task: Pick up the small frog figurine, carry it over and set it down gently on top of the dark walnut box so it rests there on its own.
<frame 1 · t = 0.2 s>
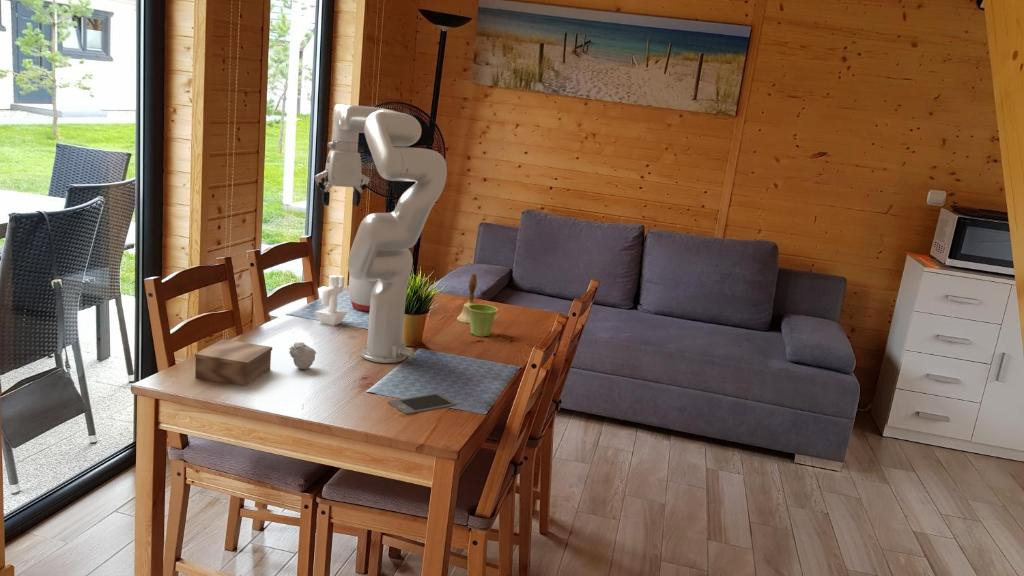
hand: (340, 205, 244), 37 cm above the table, tool pointing down, fingers open, 9 cm apart
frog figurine: (301, 369, 210), on the table
plant pot: (480, 334, 259), on the table
figurine: (331, 323, 253), on the table
smartphone: (422, 406, 196), on the table
walnut box: (233, 373, 201), on the table
hand bell: (468, 320, 274), on the table
citrus juicer: (369, 309, 274), on the table
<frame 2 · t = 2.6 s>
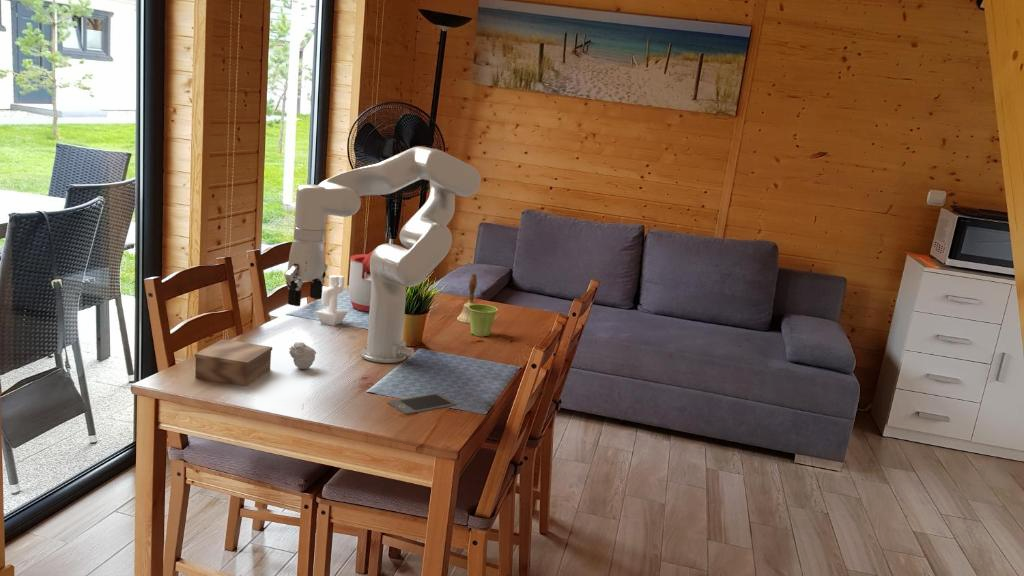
hand: (305, 301, 206), 18 cm above the table, tool pointing down, fingers open, 9 cm apart
nothing on the table moved.
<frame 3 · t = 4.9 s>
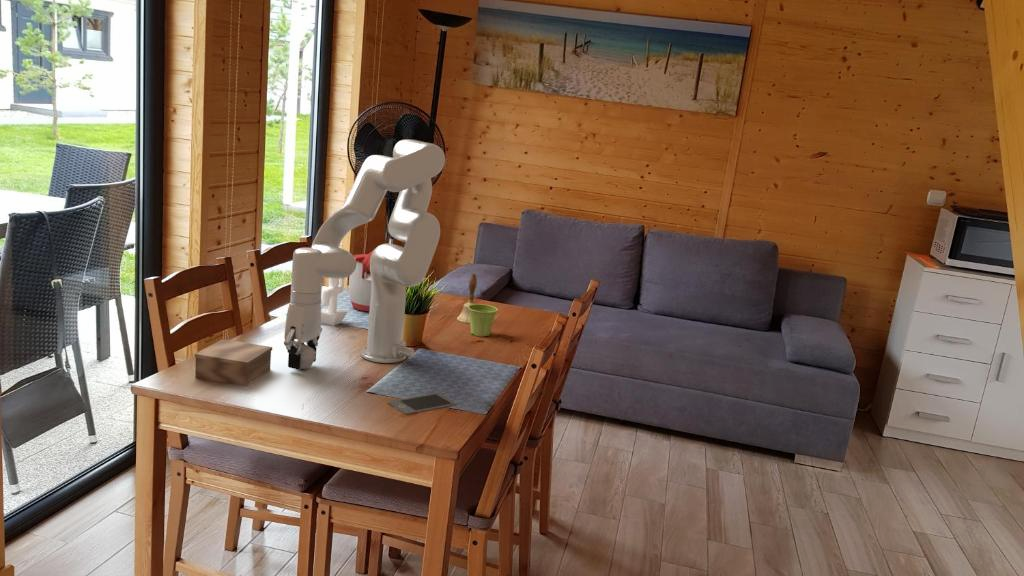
hand: (302, 363, 210), 1 cm above the table, tool pointing down, fingers closed on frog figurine, 6 cm apart
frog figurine: (301, 369, 210), on the table, touching gripper
everything else where it was.
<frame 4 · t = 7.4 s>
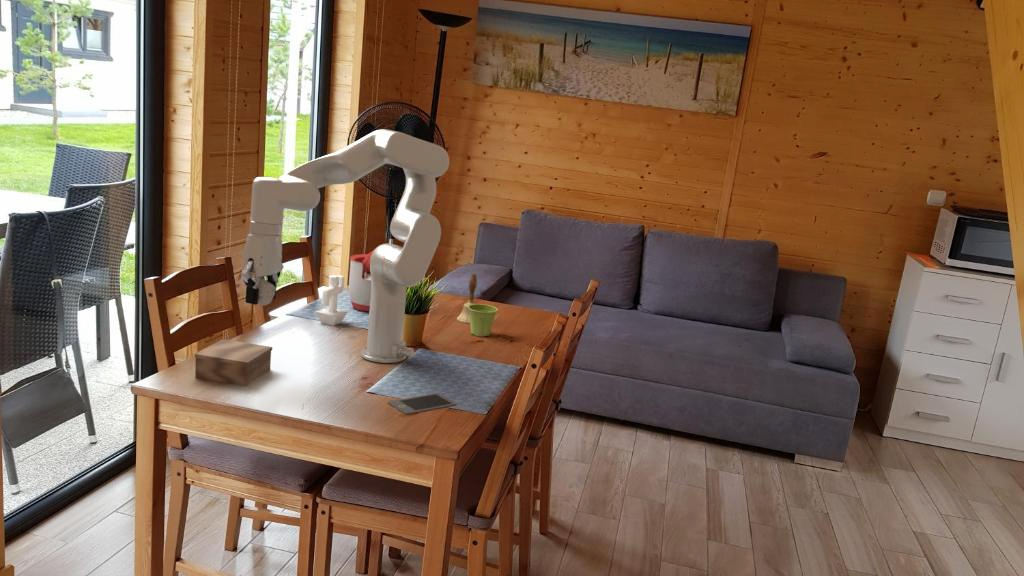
hand: (260, 300, 200), 19 cm above the table, tool pointing down, fingers closed on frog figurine, 6 cm apart
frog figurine: (260, 306, 200), point 17 cm above the table, touching gripper
everything else where it was.
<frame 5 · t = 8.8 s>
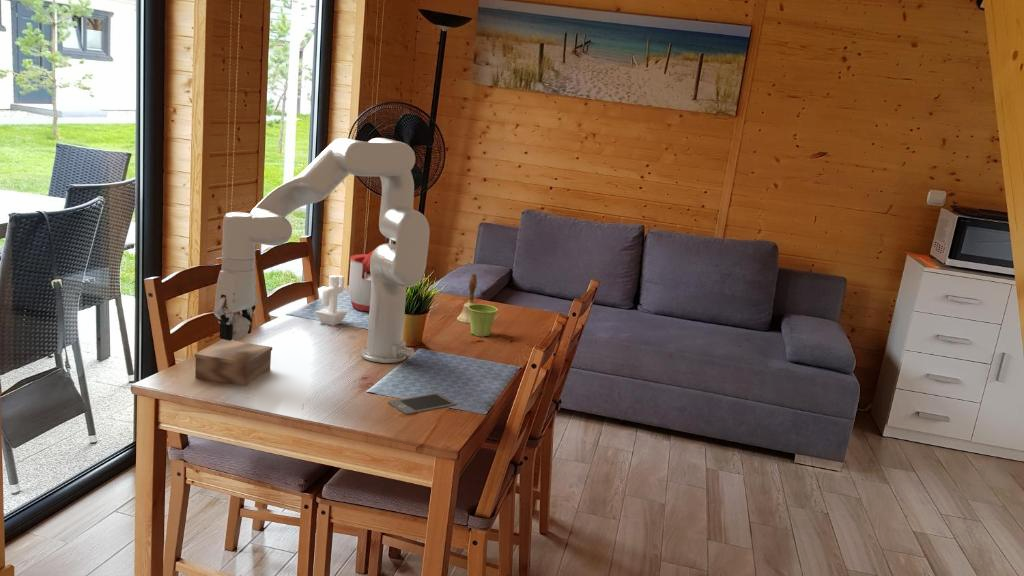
hand: (235, 335, 199), 10 cm above the table, tool pointing down, fingers closed on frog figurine, 6 cm apart
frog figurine: (235, 340, 199), point 8 cm above the table, touching gripper
everything else where it was.
when the fingers open (8 cm above the table, at t = 10.0 s): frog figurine stays where it is, resting on walnut box.
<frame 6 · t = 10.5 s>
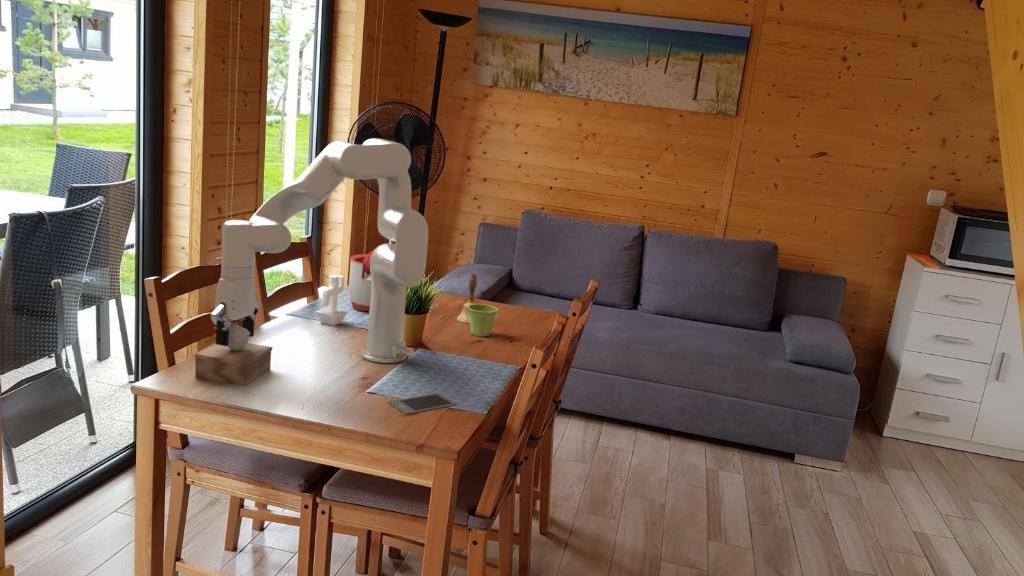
hand: (235, 340, 199), 9 cm above the table, tool pointing down, fingers open, 9 cm apart
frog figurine: (235, 351, 200), point 6 cm above the table, touching walnut box
everything else where it was.
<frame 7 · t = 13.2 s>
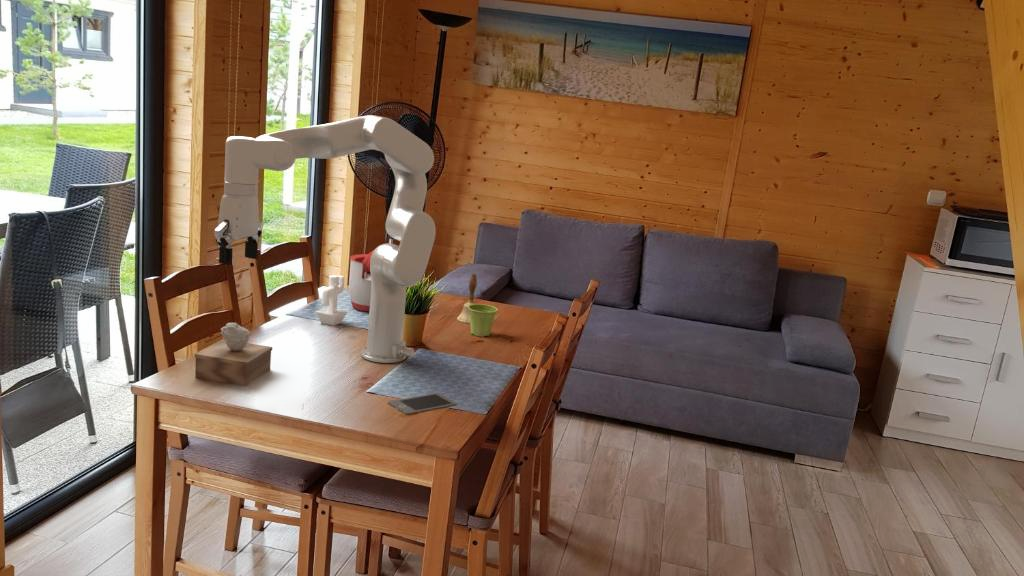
hand: (238, 261, 196), 28 cm above the table, tool pointing down, fingers open, 9 cm apart
nothing on the table moved.
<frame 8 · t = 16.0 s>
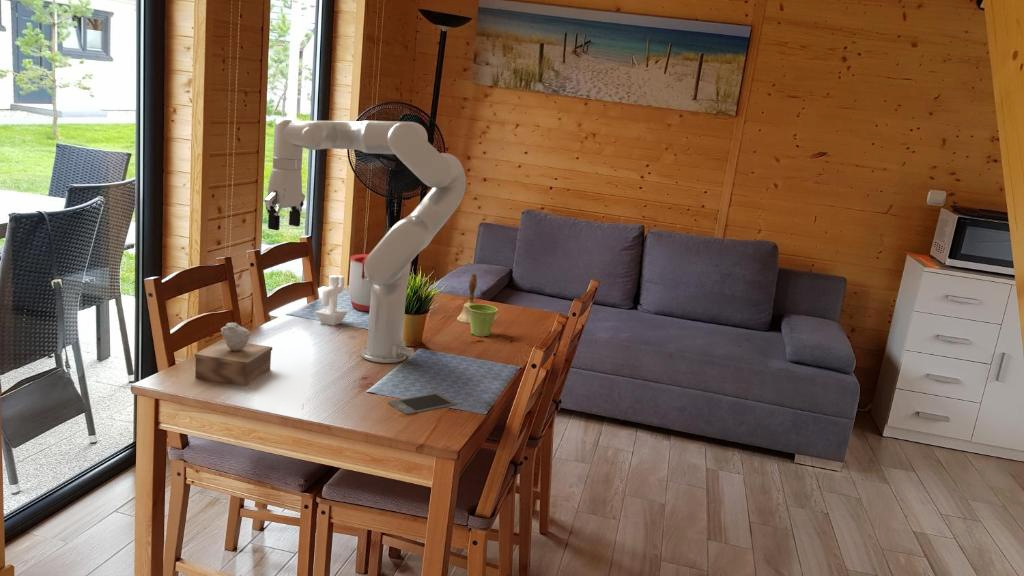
hand: (284, 227, 223), 32 cm above the table, tool pointing down, fingers open, 9 cm apart
nothing on the table moved.
at the end: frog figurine inside the target area on the walnut box (0.1 cm from its centre), point 5.8 cm above the walnut box's base; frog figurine touching walnut box; the gripper is holding nothing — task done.
